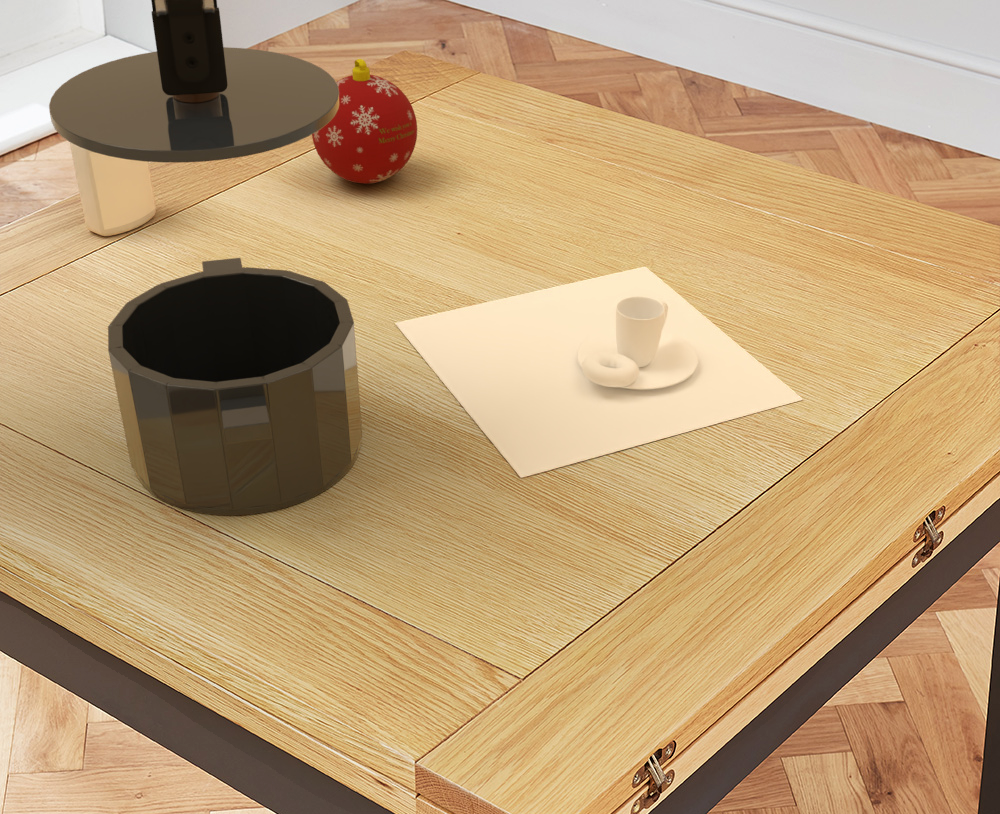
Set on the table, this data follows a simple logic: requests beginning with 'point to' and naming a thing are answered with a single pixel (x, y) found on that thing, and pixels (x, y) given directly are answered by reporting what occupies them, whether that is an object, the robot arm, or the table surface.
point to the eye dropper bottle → (113, 191)
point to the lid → (194, 109)
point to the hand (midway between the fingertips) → (193, 77)
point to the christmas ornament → (368, 129)
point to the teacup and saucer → (591, 369)
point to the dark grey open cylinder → (237, 388)
